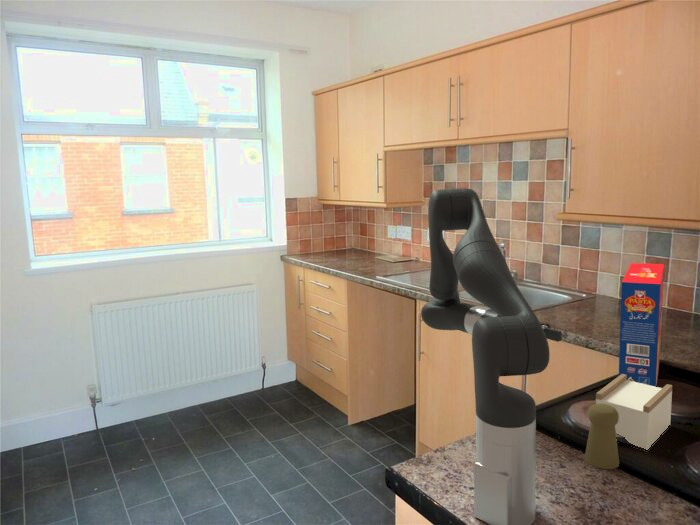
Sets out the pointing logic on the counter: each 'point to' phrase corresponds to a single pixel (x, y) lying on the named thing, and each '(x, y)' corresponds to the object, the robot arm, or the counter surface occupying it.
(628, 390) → the display stand
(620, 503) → the counter surface
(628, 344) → the pasta box
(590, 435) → the olive green pawn
